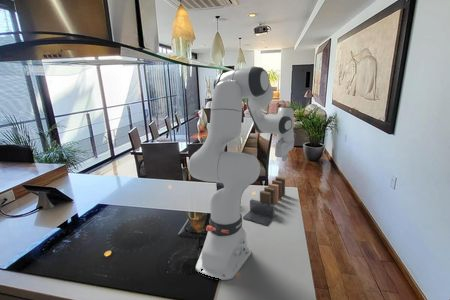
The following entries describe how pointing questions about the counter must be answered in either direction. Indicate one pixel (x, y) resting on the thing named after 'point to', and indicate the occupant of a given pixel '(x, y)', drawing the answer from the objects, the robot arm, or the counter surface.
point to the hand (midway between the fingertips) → (284, 160)
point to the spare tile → (275, 191)
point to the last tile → (265, 197)
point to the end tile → (282, 184)
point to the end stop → (260, 212)
